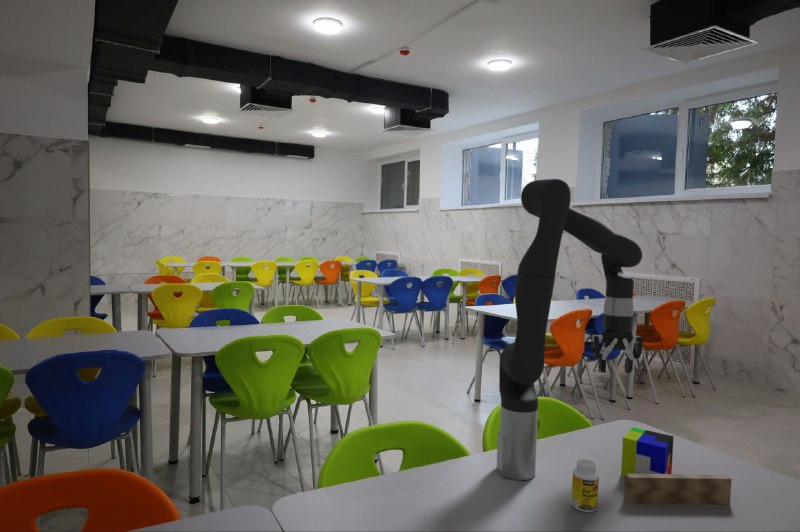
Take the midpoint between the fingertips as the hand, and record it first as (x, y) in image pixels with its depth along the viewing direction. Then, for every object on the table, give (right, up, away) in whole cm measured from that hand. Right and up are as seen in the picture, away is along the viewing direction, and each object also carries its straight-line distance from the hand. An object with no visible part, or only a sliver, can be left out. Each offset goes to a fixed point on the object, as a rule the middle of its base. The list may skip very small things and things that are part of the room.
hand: (615, 372), depth 146 cm
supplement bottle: (-19, -25, -28) cm, 42 cm away
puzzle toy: (+4, -25, -11) cm, 27 cm away
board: (+4, -25, -25) cm, 35 cm away
